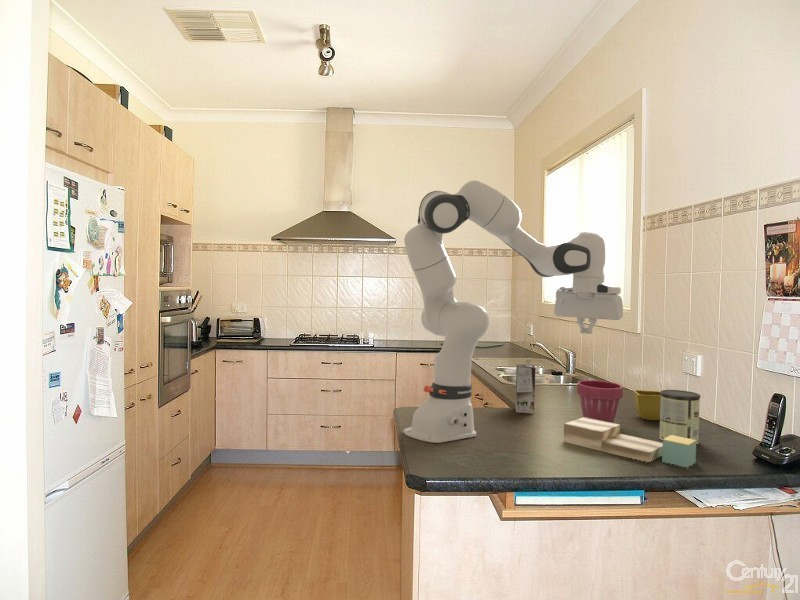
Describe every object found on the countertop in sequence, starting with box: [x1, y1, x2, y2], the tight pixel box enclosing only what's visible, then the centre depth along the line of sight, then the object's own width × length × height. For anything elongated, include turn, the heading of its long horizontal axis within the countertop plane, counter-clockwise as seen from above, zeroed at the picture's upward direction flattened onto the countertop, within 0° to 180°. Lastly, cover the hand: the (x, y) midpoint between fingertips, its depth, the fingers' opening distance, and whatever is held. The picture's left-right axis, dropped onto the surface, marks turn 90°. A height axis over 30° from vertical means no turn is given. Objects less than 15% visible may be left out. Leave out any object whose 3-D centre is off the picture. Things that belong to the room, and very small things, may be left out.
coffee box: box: [515, 363, 536, 415], centre depth 185 cm, size 9×6×16 cm
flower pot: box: [633, 389, 661, 421], centre depth 178 cm, size 9×9×9 cm
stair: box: [563, 417, 663, 463], centre depth 143 cm, size 12×24×5 cm, turn 44°
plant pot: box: [576, 379, 624, 423], centre depth 171 cm, size 14×14×13 cm
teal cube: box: [661, 435, 697, 468], centre depth 132 cm, size 6×6×6 cm
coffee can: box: [658, 389, 701, 445], centre depth 152 cm, size 10×10×14 cm
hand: (586, 333), depth 155 cm, fingers closed
